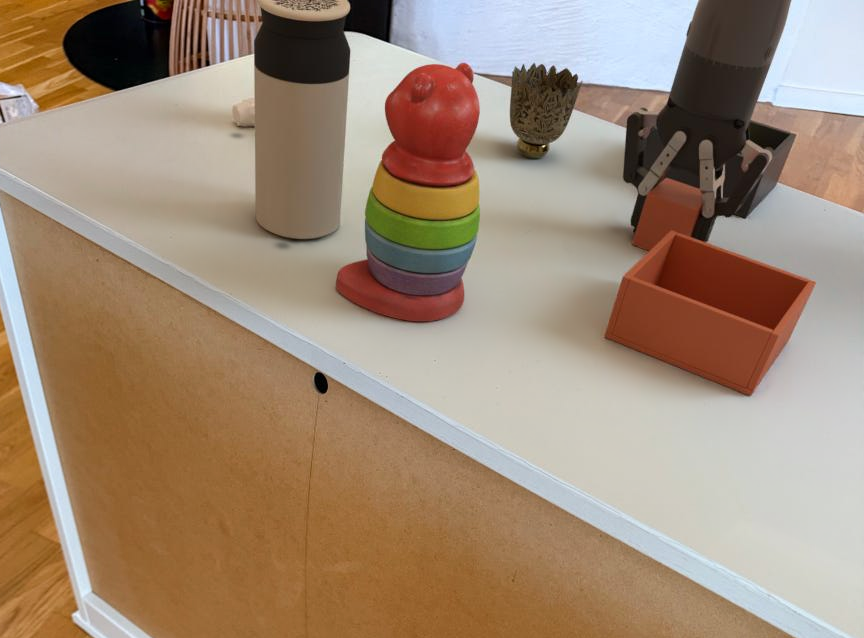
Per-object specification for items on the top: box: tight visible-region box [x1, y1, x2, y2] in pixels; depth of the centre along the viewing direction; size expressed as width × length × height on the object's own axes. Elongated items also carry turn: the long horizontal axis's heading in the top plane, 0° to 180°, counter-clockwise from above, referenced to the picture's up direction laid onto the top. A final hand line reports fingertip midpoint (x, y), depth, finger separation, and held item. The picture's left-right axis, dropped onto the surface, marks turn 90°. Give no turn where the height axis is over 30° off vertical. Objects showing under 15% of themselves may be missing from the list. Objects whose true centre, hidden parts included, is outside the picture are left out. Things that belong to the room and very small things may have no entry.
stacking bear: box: [335, 62, 481, 322], centre depth 74 cm, size 11×10×18 cm
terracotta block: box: [631, 178, 702, 252], centre depth 90 cm, size 5×5×5 cm
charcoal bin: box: [644, 119, 797, 219], centre depth 101 cm, size 13×11×6 cm
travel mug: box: [253, 0, 351, 240], centre depth 80 cm, size 8×8×18 cm
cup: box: [509, 62, 584, 159], centre depth 100 cm, size 8×7×8 cm
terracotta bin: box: [604, 230, 817, 397], centre depth 78 cm, size 13×11×6 cm
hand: (665, 240), depth 91 cm, fingers closed on terracotta block, 5 cm apart
